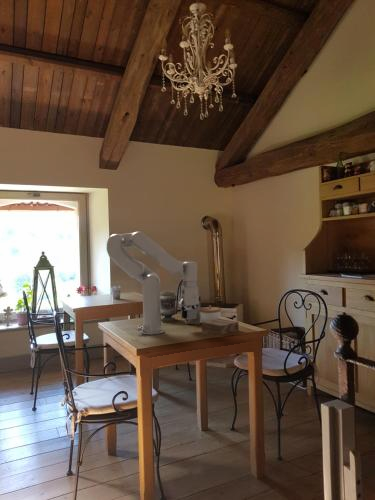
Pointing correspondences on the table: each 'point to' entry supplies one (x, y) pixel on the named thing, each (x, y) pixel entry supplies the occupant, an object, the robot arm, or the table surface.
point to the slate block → (190, 313)
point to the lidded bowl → (210, 313)
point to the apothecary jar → (168, 305)
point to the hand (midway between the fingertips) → (188, 316)
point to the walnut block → (220, 326)
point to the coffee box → (197, 321)
